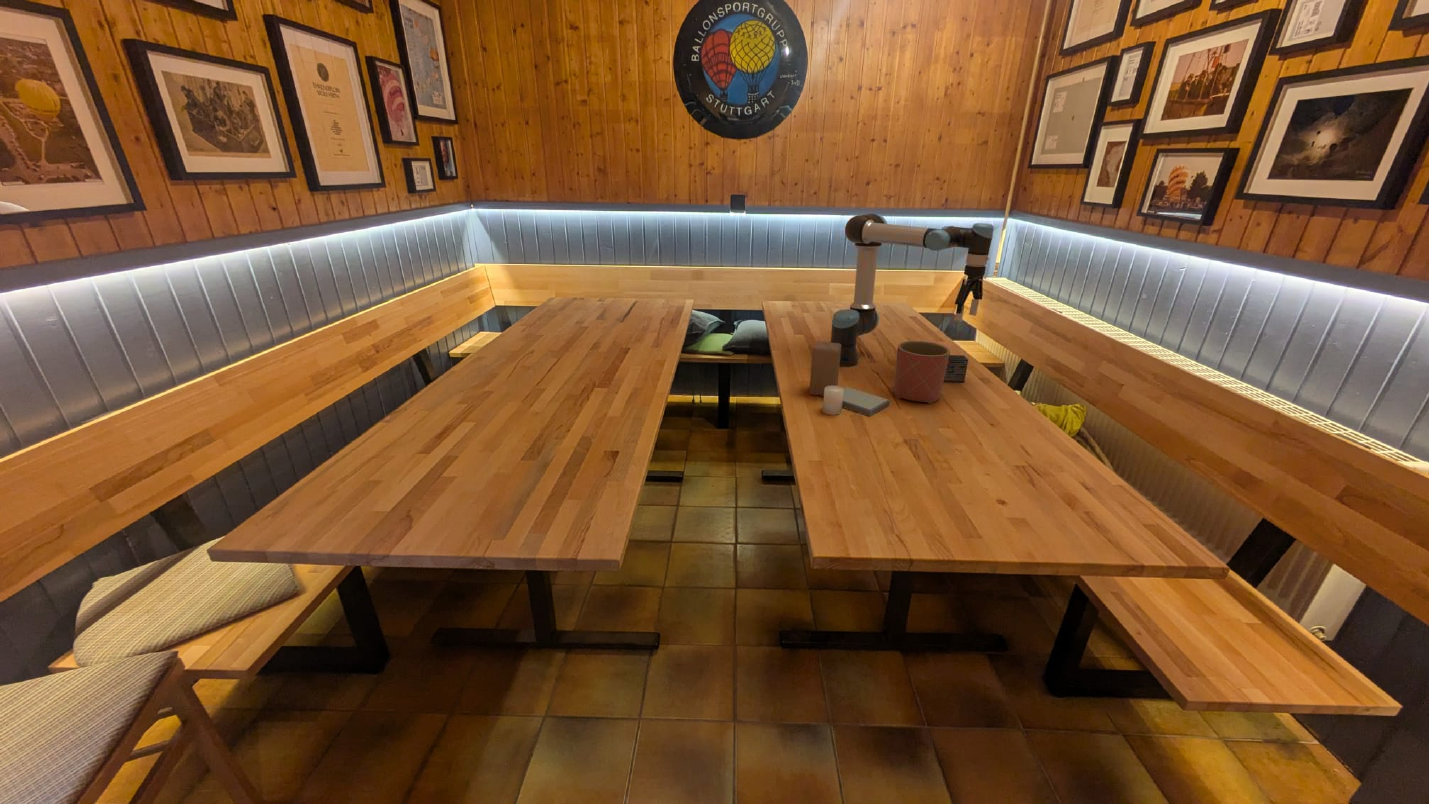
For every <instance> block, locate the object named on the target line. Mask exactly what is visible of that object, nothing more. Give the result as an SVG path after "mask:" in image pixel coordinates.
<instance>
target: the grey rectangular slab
mask: <svg viewBox="0 0 1429 804" xmlns="http://www.w3.org/2000/svg"><path fill="white" fill-rule="evenodd" d="M843 389H844V394H843V404H842V406H843V407H846V408H848V409H847V410H849V409H852V410H854V411H853V412H855V411H856V412H855V413H858V412H860V413H859V414H861V413H862V414H861V415H864V414H866V415H865V416H867V415H868V416H867V417H871V415H872V416H874V415H875V414H877V413H879V412H880V410H881V411H882V409H883V410H884V409H886V408H888V407H890V402H891V400H889V399H888V398H887V399H886V398H884V397H880V396H877V395H874V394H871V393H868V392H865V391H863V390H862V391H861V390H858V389H854V388H852V387H848V386H846V387H844V388H843ZM843 407H842V408H843ZM846 408H845V409H846ZM852 410H851V411H852ZM873 414H874V415H873Z"/></svg>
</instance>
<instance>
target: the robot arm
mask: <svg viewBox="0 0 1429 804" xmlns="http://www.w3.org/2000/svg"><path fill="white" fill-rule="evenodd" d="M844 233H845V237H846V238H847V239H848V241H849V242H851V243H854V247H855V248H856V249H857V257H856V270H855V283H854V293H853V294H854V296H853V302H852V303H851V304H850V306H849V308H848V309H840V310H837V311H836V312H834V314H833V316H832V320H831V331H830V343H839V344H841V355H840V365H839V367H853V366H857V364H858V363H859V356H858V349H857V339H858V337H860V336H862V335H867V334H869V333H871V332H872V331H874V330H875V329H876V328H877V327H878V325H879V322H880V315H879V313H878V311H877V310H876V306H877V305H875V304H874V294H875V293H874V292H875V281H876V271H877V261H878V250H879V249H880V248H881V247H882V245H883V244H887V245H895V246H896V245H897V246H898V245H899V246H906V247H907V246H908V247H914V248H915V247H916V248H925V249H928V250H929V251H930V250H931V251H933V252H934V251H937V252H938V251H939V252H940V251H943V250H946V249H951V248H962V249H967V255H966V260H965V266H964V270H963V274H964V275H965V276H967V277H966V278H962V281H961V286H960V288H959V290H958V293H957V296H956V298H955V302H954V305H956V310H955V314H954V319H953V321H956V322H960V323H961V322H963V316H964V313H965V307H966V305H965V303H966V301H967V300H968V297H969V295H970V293H971V294H972V297H973V298H972V299H971V303H970V306H969V307H970V308H969V312H968V315H969V316H970V315H971V316H974V317H976V316H977V314H978V308H979V304H980V303H979V302H980V300H983V293H984V288H983V286H984V285H983V282H984V276H985V274H986V269H987V267H986V265H987V264H988V260H989V259H990V258H989V254H990V249H991V245H992V240H993V237H994V236H993V235H994V225H993V224H992V223H982V222H979V223H978V222H977V223H973V225H972V227H961V226H954V225H950V226H949V225H945V226H943V227H942V228H933V227H932V228H931V227H921V226H911V225H903V224H901V225H900V224H891V223H890V224H889V223H888V222H887V220H886V219H885V217H884V216H883V215H881V214H878V213H867V214H865V213H864V214H861V215H860V214H858V215H855V216H852V217H851V218H849V220H848V221H847V222H846V224H845V226H844Z"/></svg>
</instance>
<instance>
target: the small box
mask: <svg viewBox="0 0 1429 804" xmlns="http://www.w3.org/2000/svg"><path fill="white" fill-rule="evenodd" d="M968 364H969V358H967V357H966V356H965V355H964V354H963V355H960V354H949V359H948V364H947V368H946V373H945V377H944V381H943V383H962V384H965V381H966V374H967V370H968Z"/></svg>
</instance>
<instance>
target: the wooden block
mask: <svg viewBox="0 0 1429 804" xmlns="http://www.w3.org/2000/svg"><path fill="white" fill-rule="evenodd" d="M830 342H831V341H830ZM830 342H829V341H820V340H818V341H816V343H815V344H814V346H813V348H812V353H811V365H810V375H809V376H810V378H809V389H808V390H809V391H808V393H809V394H810V395H812V396H817V395H820V396H819V397H824V389H825V387H827V386H838V383H839V374H840V366H839V365H840V355H841V344H839V343H830Z"/></svg>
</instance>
